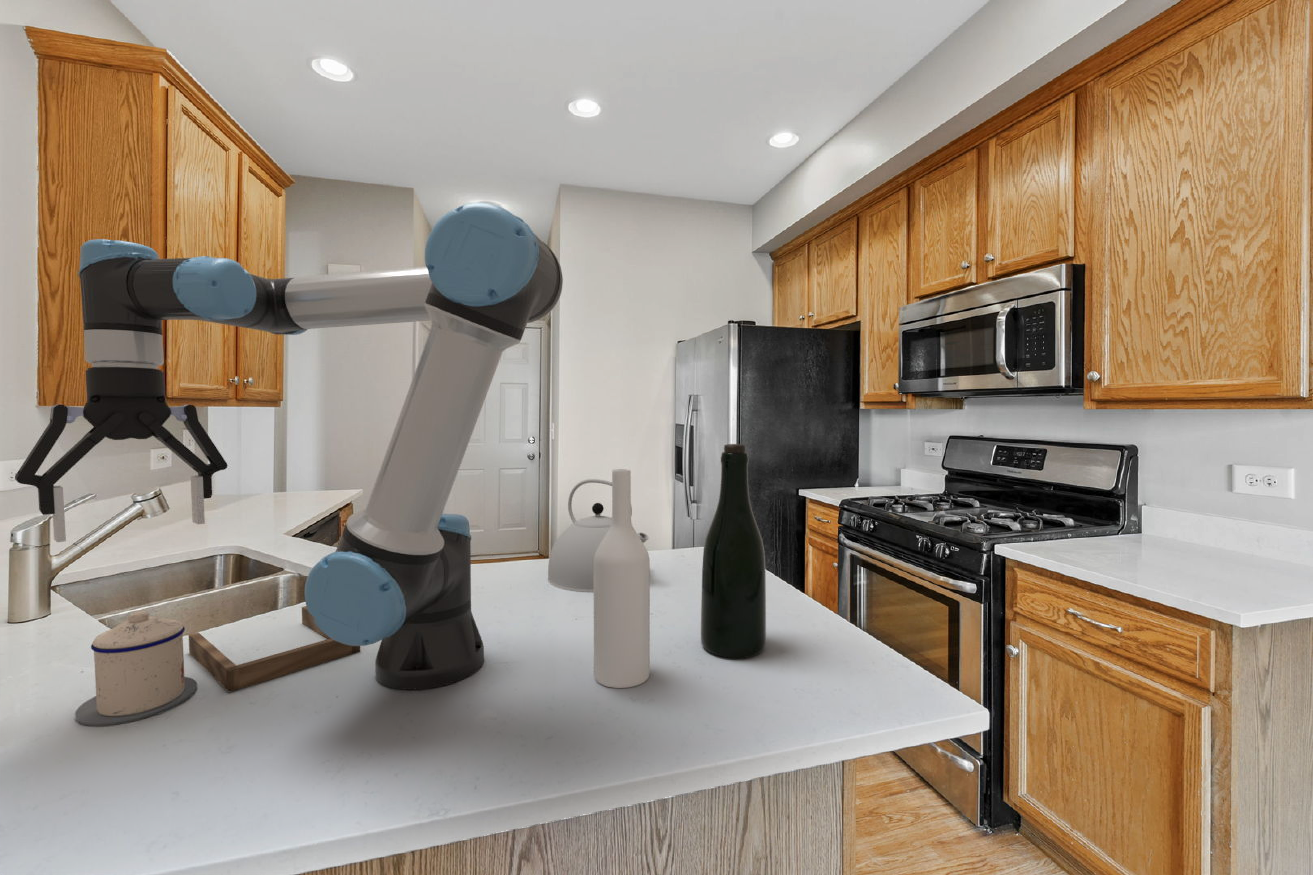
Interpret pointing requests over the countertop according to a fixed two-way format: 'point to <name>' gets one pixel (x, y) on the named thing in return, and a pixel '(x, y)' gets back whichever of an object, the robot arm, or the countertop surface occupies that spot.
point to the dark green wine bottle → (733, 568)
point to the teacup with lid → (138, 665)
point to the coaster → (92, 717)
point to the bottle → (621, 596)
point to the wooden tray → (266, 659)
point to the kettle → (579, 548)
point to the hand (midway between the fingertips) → (134, 531)
